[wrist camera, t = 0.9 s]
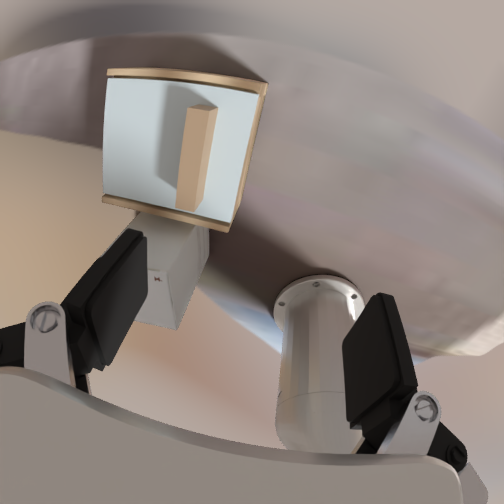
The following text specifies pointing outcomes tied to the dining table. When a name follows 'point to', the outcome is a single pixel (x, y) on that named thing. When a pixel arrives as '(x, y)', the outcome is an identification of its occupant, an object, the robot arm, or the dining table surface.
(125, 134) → the lid
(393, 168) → the dining table surface
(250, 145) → the box
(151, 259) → the supplement box
